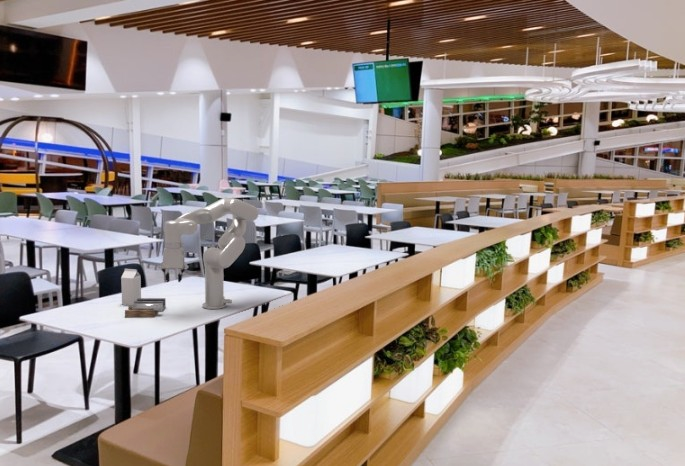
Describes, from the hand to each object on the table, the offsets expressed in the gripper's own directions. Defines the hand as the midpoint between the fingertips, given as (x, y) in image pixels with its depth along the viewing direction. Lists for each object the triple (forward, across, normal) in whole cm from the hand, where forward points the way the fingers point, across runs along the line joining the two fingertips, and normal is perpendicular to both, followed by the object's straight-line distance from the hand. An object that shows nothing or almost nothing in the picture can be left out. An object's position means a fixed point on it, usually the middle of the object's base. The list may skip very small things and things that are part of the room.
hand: (173, 281), depth 289 cm
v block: (+17, +14, -10) cm, 24 cm away
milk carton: (+18, +26, -21) cm, 38 cm away
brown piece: (+17, +16, 0) cm, 24 cm away
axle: (+15, +13, 0) cm, 20 cm away
